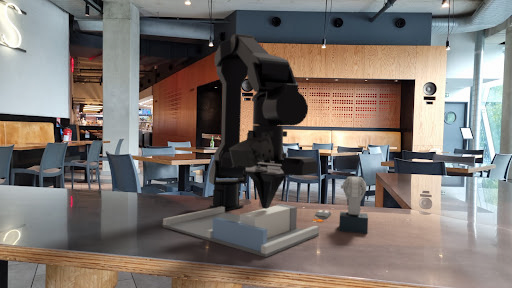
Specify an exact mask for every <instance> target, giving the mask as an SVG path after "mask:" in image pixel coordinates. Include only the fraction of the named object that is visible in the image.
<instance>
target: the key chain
mask: <svg viewBox="0 0 512 288" xmlns="http://www.w3.org/2000/svg"><path fill="white" fill-rule="evenodd" d="M330 216H332V212H331V211H329V210H321V209H319V210H318V211H316V212H315V214H314V217H313V219H312V222H315V223H323V222H324V220H328V219H329V218H330Z"/></svg>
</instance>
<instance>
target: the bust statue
mask: <svg viewBox="0 0 512 288" xmlns="http://www.w3.org/2000/svg"><path fill="white" fill-rule="evenodd" d="M367 187H368V186H367V183H366V181H365V180H364V178H363V177H361V176H351V175H350V176H347V178H345V180H344V181H343V183H342V184H340V189H342V190H343V193H344V195H345V198H346V200H348V203H347V204H348V205H347V211H340V212H339V227H338V228H339V229H338V231H339V232H346V233H359V234H365V235H366V234H368V233H369V232H368V231H369V230H368V228H369V216H368V213H366V212H365V213H364V212H361V201H362V200H363V198H364V195H365V194H366V192H367Z"/></svg>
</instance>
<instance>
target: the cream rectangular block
mask: <svg viewBox="0 0 512 288" xmlns="http://www.w3.org/2000/svg"><path fill="white" fill-rule="evenodd" d="M297 209H298V207H297V206H293V205H288V204H283V203H277V204H275V205H274V206H269V208H267V209H265V208H261V209H256V210H253V211H248V212H245V213H240V214H239V215H240V223H243V224H247V225H251V226H256V227H260V228H264V229H267V238H269V237H272V236H275V235H278V234H281V233H283V232H286V231H289V230H290V231H291V230H294V229H296V228H297V221H298V220H297V216H298V215H297V214H298V213H297V212H298V211H297Z"/></svg>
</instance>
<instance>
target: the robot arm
mask: <svg viewBox="0 0 512 288" xmlns="http://www.w3.org/2000/svg"><path fill="white" fill-rule="evenodd" d="M214 66H215V67H216V75H217V77H218V78H219V81H220V83H221V84H222V102H221V103H222V104H221V105H222V106H221V107H222V108H221V134H220V135H221V140H220V141H221V143H220V144H219V146H218V147H217V148H216V150H215V152H214V158H213V160H212V162H211V166H210V169H209V173H208V183H209V184H210V185H211V184H212V185H213V190H212V203H211V204H209V205H208V207H210V208H217V207H221V206H222V207H225V211H231V210H235V209H239V208H244V206H245V205H244V204H240V188H241V187H240V185H245V184H246V182H247V177H248V176H249V178H250V179H251V180H252V182H253V184H254V187H255V190H256V193H257V195H258V199H259V203H260V205H261V209H264V208H265V209H267V208H269V207H271V205H272V202H273V200H274V199H275V196H276V194H277V193H278V190H279V188H280V186H281V185H282V183H283V181H284V180H285V178H286V177H287V176H301V177H302V176H303V177H304V176H308V175H315V174H318V165H319V164H318V162H317V160H316V159H315V157H310V156H309V157H308V156H289V157H287V152H283V147H284V146H283V145H284V138H286V137H287V138H288V131H286V130H285V131H284V126H291V127H292V126H297V125H300V124H301V123H302V122H304V120H305V119H306V118H307V115H308V109H309V105H308V103H307V100H306V99H305V96H304V95H303V94H302V93H301V92H299V91H300V90H299V83H298V82H297V80H296V78H295V75H294V71H293V69H292V66H291V64H290V62H289V61H288V59H286V58H283V57H281V56H277V55H273V54H270V53H269V52H268V51H267V50H266V49H264V47H263V46H262V45H261V44H260V43H259V42H258V41H257V38H256V37H255V36H253V35H250V34H243V33H236V34H232V35H231V38H230V39H228V40H227V41H224V42H223V43H221V44H219V45H218V47H217V50H216V52H215V54H214ZM246 78H247V80H248V81H249V84H250V85H251V88H252V89H253V91H254V92H255V94H254V95H253V96H252V98H251V101H252V102H253V105H252V106H253V111H252V130H248V132H247V134H246V139H245V140H242V141H241V113H242V85H243V83H244V81H245V80H246Z"/></svg>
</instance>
